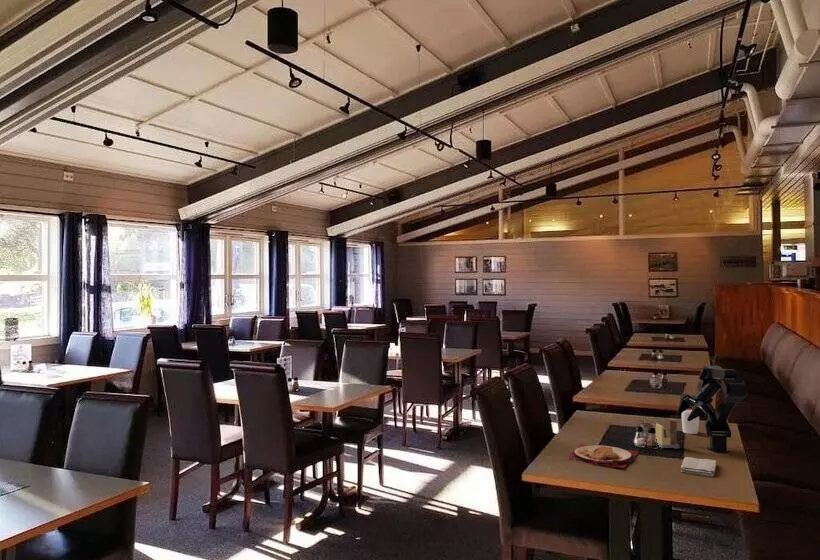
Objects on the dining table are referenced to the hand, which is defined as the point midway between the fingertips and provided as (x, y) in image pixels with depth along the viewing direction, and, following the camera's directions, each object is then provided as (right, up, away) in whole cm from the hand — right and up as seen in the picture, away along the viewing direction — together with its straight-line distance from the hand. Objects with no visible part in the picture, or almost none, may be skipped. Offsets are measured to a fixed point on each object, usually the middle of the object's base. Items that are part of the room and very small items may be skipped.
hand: (682, 417), depth 274 cm
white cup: (+14, -13, +24) cm, 30 cm away
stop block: (-6, -10, -1) cm, 12 cm away
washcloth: (-8, -13, -33) cm, 36 cm away
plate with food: (-42, -13, -17) cm, 47 cm away
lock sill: (-7, -12, -1) cm, 14 cm away
